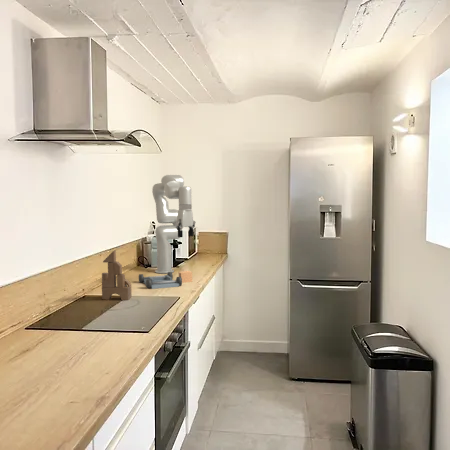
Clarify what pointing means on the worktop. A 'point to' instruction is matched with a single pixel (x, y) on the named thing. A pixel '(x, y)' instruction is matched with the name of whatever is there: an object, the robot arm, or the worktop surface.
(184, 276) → the block
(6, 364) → the worktop surface
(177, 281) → the chassis
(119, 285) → the wooden toy
